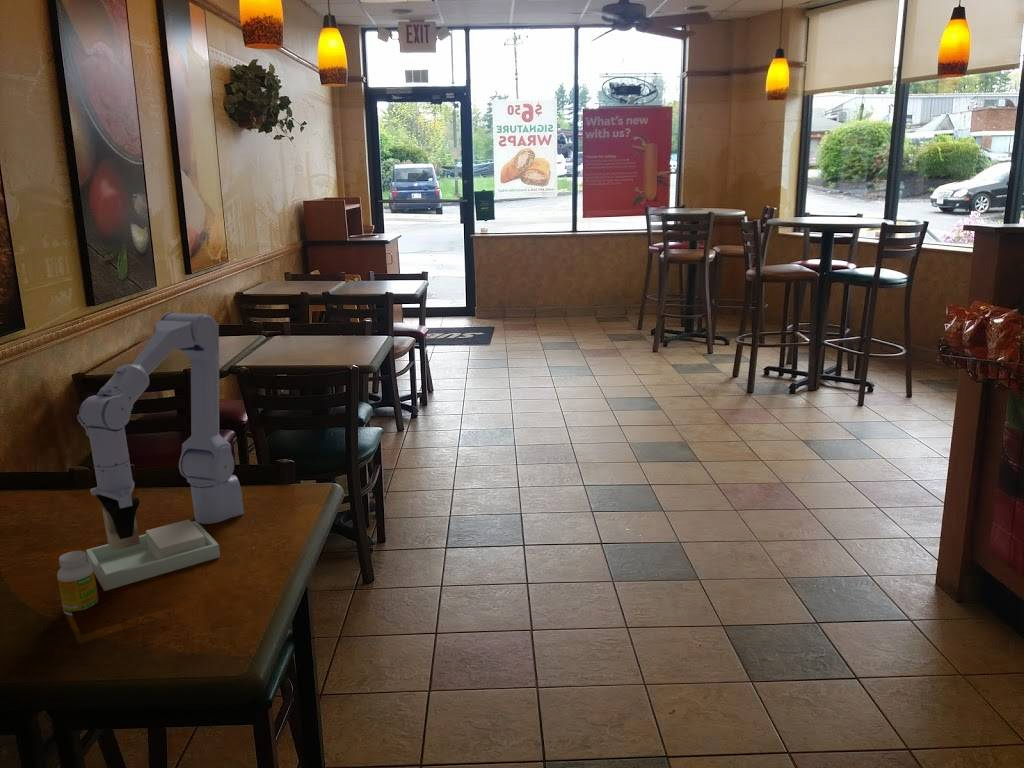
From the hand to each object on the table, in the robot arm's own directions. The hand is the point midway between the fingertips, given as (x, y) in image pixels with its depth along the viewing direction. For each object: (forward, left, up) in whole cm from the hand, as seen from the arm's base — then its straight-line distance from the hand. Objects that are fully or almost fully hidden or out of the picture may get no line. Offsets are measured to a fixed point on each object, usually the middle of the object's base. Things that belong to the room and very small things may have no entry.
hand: (123, 532), depth 148 cm
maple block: (0, 0, -2) cm, 2 cm away
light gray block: (-9, 0, -7) cm, 11 cm away
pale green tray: (-5, 0, -8) cm, 9 cm away
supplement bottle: (+9, +9, -8) cm, 15 cm away
